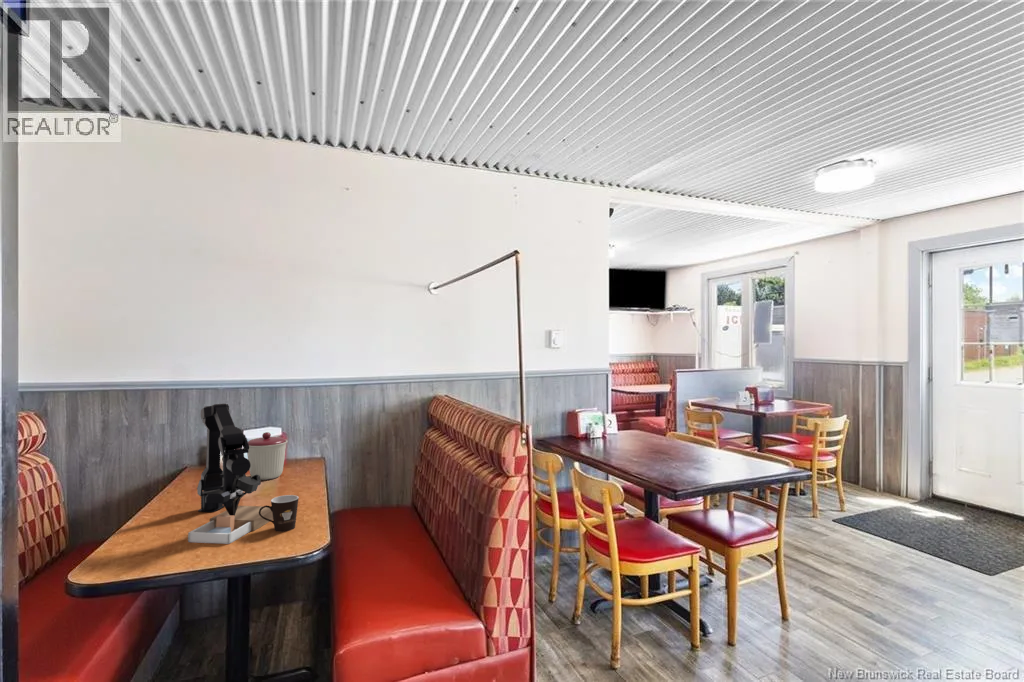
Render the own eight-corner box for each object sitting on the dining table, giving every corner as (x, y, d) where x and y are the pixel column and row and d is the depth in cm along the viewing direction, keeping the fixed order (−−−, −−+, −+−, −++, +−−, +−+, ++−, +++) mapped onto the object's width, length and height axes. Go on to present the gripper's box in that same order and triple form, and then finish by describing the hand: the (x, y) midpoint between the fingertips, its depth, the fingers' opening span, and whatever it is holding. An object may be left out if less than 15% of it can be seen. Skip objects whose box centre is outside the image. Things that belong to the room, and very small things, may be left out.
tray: (188, 542, 160) (188, 532, 160) (212, 529, 171) (212, 520, 171) (229, 543, 158) (229, 534, 158) (251, 530, 169) (251, 521, 169)
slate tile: (217, 526, 167) (217, 532, 167) (205, 532, 162) (205, 538, 162) (230, 527, 166) (230, 533, 166) (220, 533, 161) (220, 539, 161)
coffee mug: (301, 523, 177) (301, 494, 177) (295, 532, 168) (295, 502, 168) (265, 525, 175) (265, 496, 175) (257, 534, 166) (257, 504, 166)
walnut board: (209, 529, 171) (209, 518, 171) (236, 515, 185) (236, 505, 185) (254, 530, 169) (254, 520, 169) (277, 516, 183) (277, 506, 183)
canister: (236, 482, 228) (236, 435, 228) (258, 472, 246) (258, 428, 246) (275, 482, 227) (275, 436, 227) (294, 472, 245) (294, 429, 245)
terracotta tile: (220, 530, 169) (215, 531, 167) (220, 514, 169) (216, 516, 167) (233, 530, 168) (229, 532, 166) (234, 515, 169) (230, 517, 167)
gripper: (237, 477, 160) (237, 526, 160) (270, 463, 179) (271, 507, 179) (204, 476, 161) (204, 525, 161) (241, 463, 180) (241, 507, 180)
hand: (232, 516), depth 170 cm, fingers closed
